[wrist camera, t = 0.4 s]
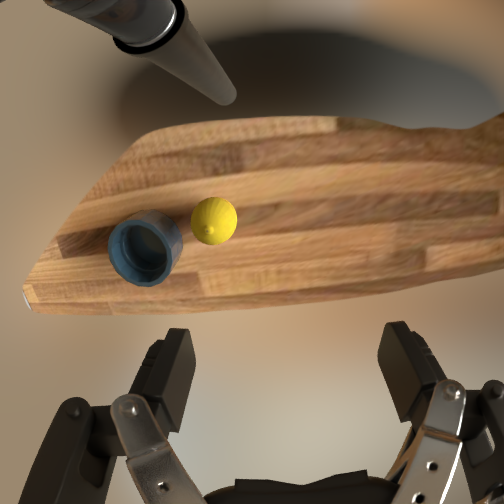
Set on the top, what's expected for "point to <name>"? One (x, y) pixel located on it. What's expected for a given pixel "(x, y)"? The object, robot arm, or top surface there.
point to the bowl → (145, 247)
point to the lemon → (213, 221)
